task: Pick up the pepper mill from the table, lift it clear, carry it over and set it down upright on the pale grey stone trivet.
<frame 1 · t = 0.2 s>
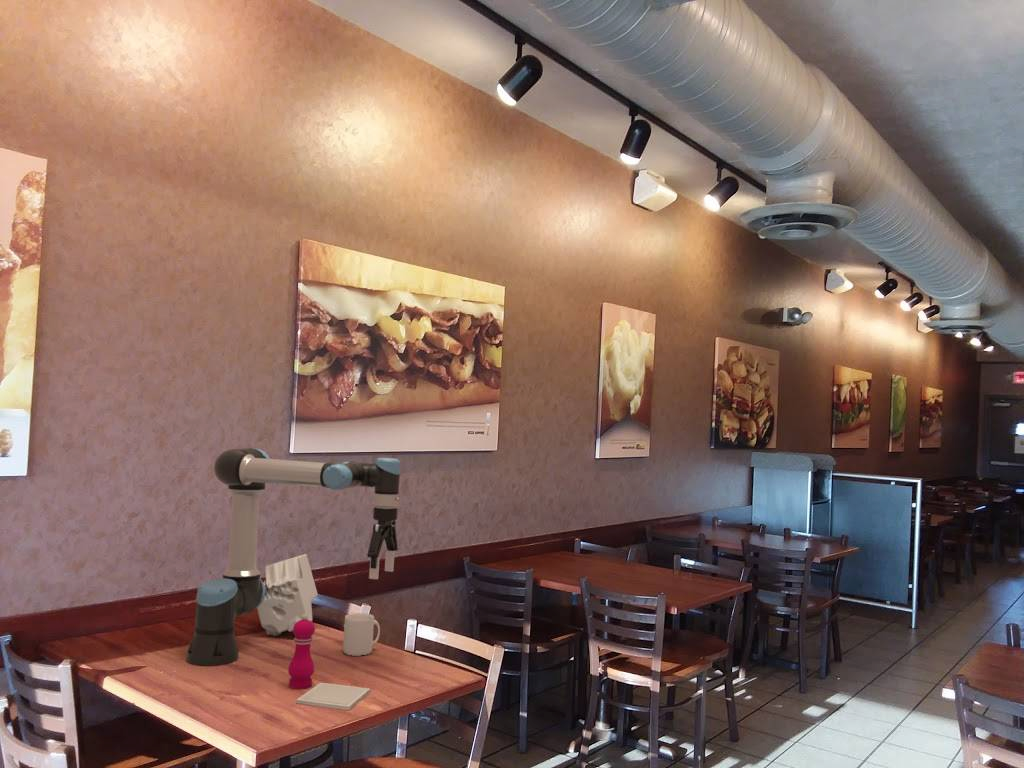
hand: (381, 575, 252), 28 cm above the table, fingers open, 13 cm apart
pepper mill: (300, 686, 228), on the table
mug: (360, 652, 264), on the table
white sculpture: (283, 632, 282), on the table
trivet: (334, 697, 220), on the table
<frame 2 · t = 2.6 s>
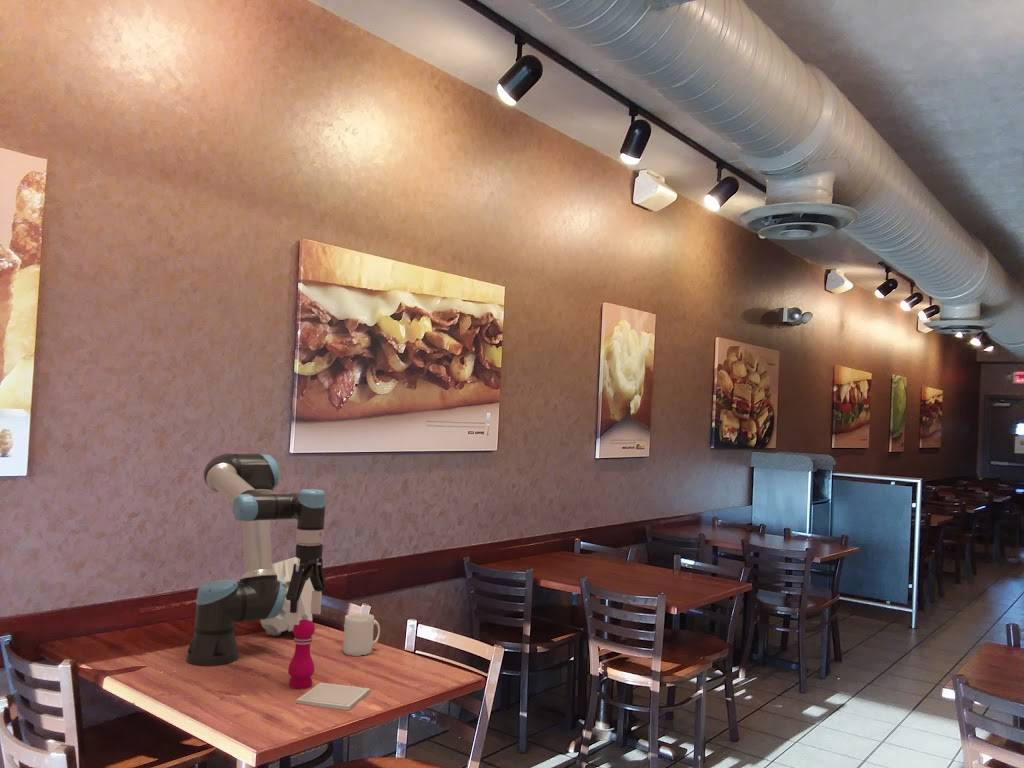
hand: (305, 618, 229), 19 cm above the table, fingers open, 13 cm apart
nothing on the table moved.
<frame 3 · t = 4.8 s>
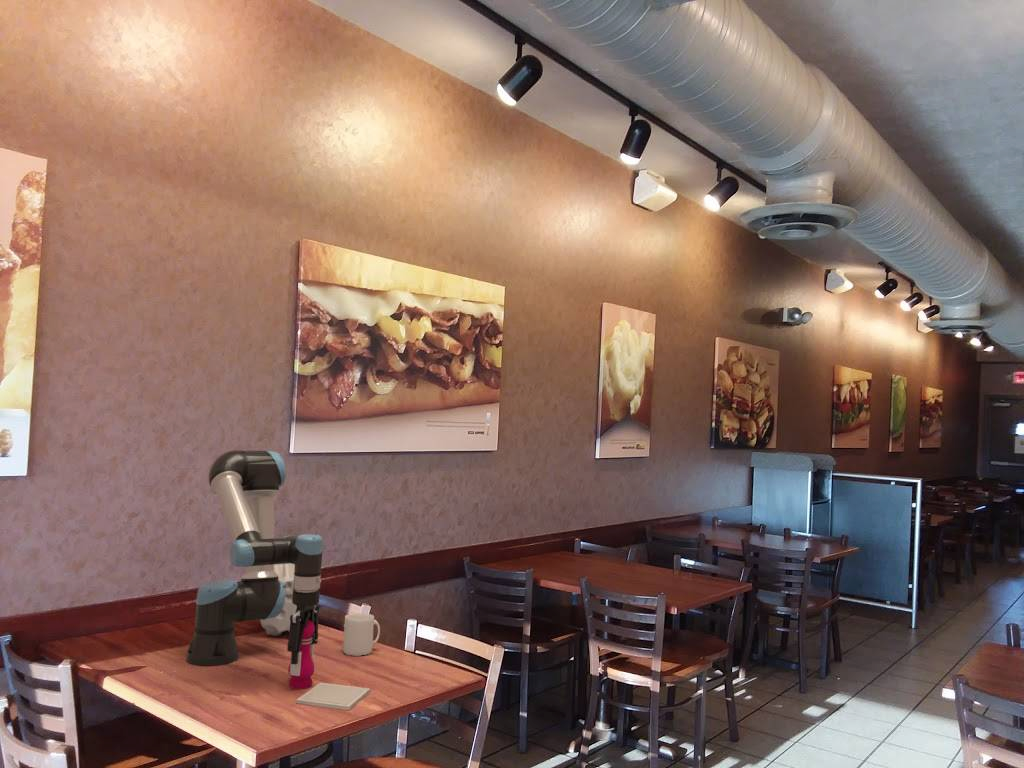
hand: (301, 670, 228), 4 cm above the table, fingers closed on pepper mill, 7 cm apart
pepper mill: (300, 686, 228), on the table, touching gripper
everything else where it was.
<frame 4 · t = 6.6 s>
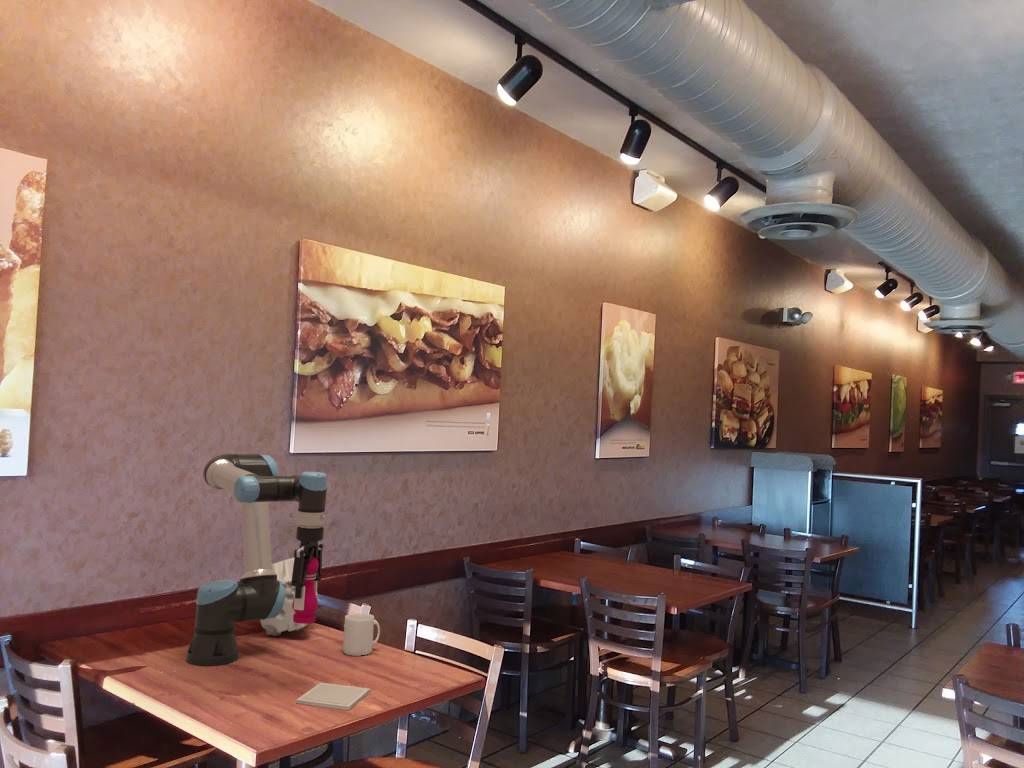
hand: (305, 606, 229), 22 cm above the table, fingers closed on pepper mill, 7 cm apart
pepper mill: (304, 621, 229), point 18 cm above the table, touching gripper
everything else where it was.
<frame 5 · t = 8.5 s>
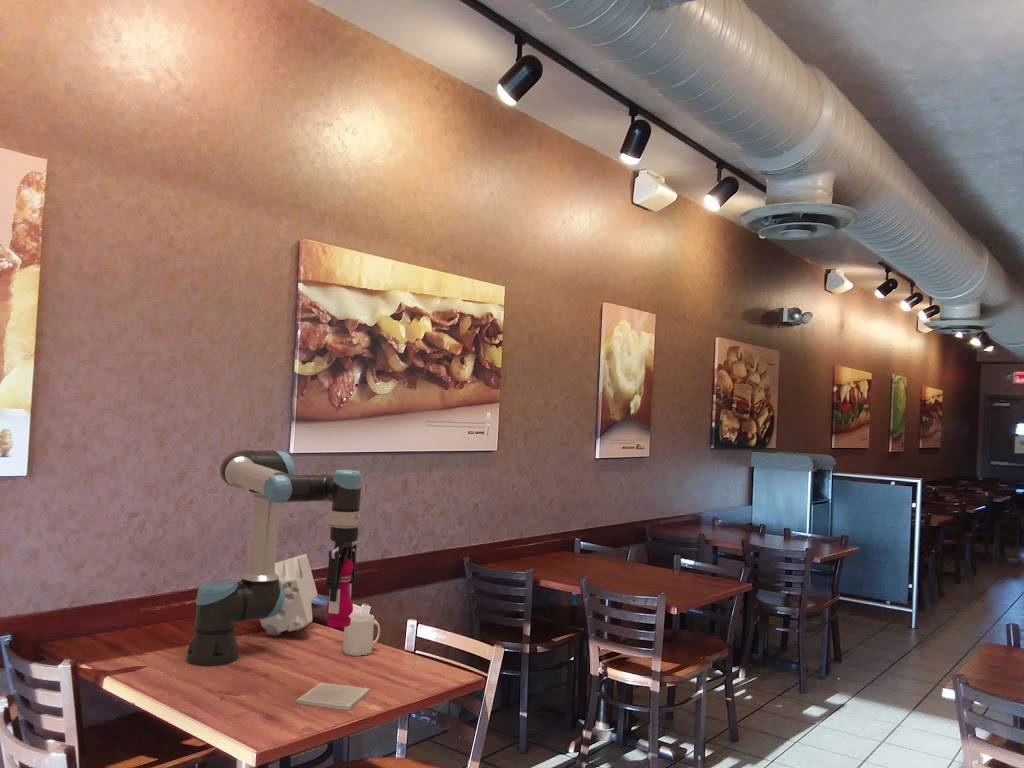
hand: (339, 609, 221), 24 cm above the table, fingers closed on pepper mill, 7 cm apart
pepper mill: (338, 625, 221), point 20 cm above the table, touching gripper
everything else where it was.
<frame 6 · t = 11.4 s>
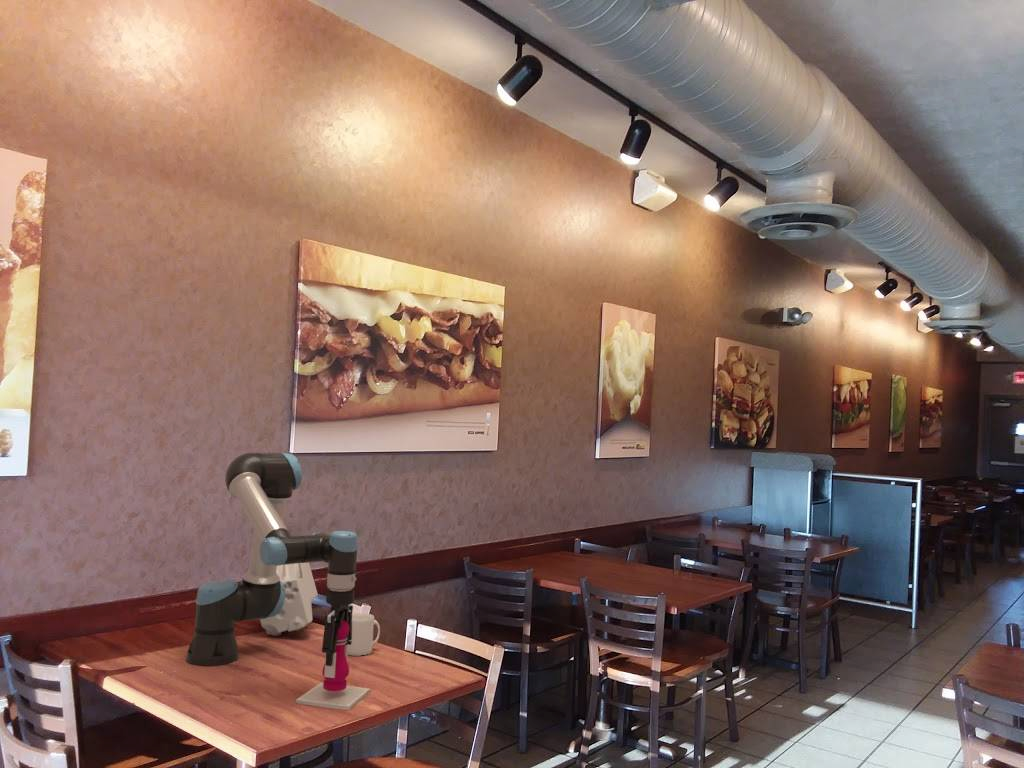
hand: (335, 672, 220), 7 cm above the table, fingers closed on pepper mill, 7 cm apart
pepper mill: (334, 688, 220), point 3 cm above the table, touching gripper
everything else where it was.
when the fingers open (6 cm above the table, at t = 12.3 s): pepper mill drops 1 cm, resting on trivet.
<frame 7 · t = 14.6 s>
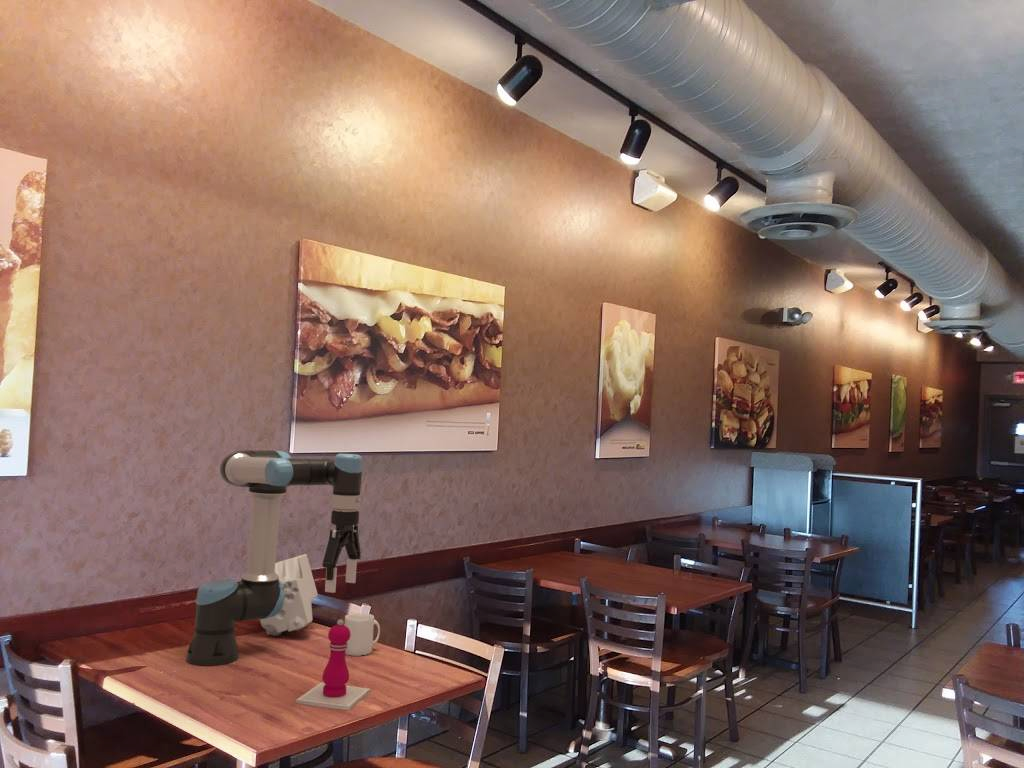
hand: (340, 587, 221), 30 cm above the table, fingers open, 13 cm apart
pepper mill: (334, 694, 220), point 1 cm above the table, touching trivet
everything else where it was.
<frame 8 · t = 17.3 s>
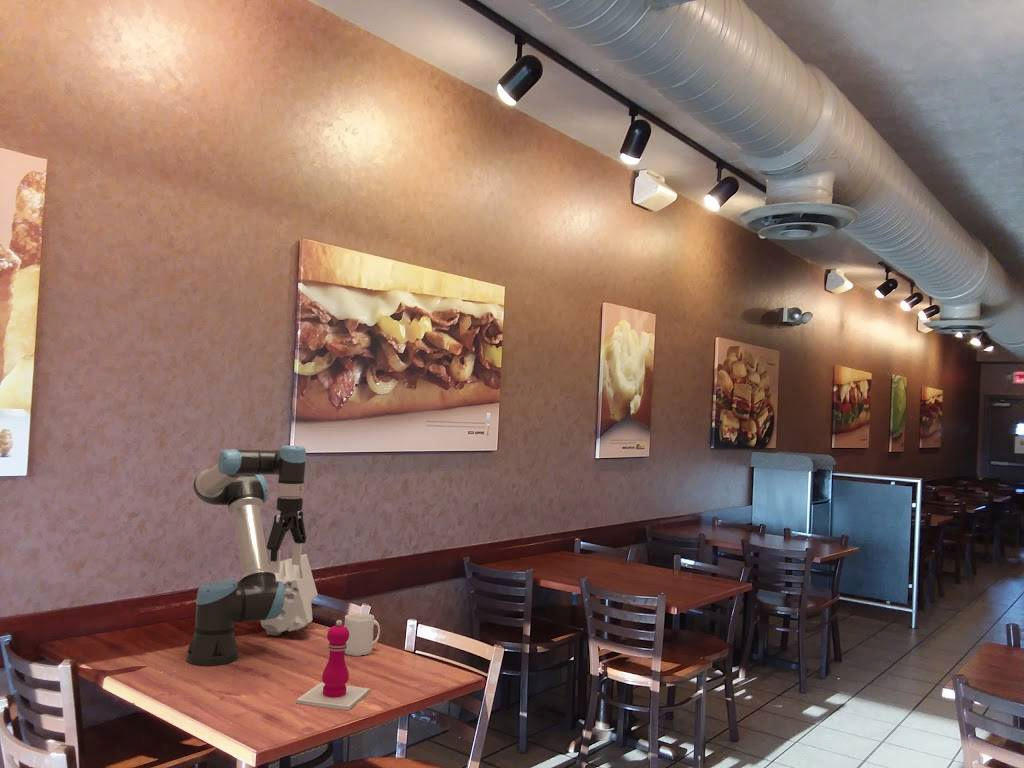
hand: (285, 568, 240), 31 cm above the table, fingers open, 13 cm apart
nothing on the table moved.
at the end: pepper mill inside the target area on the trivet (0.1 cm from its centre), point 0.9 cm above the trivet's base; pepper mill tilted 1°; pepper mill touching trivet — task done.
